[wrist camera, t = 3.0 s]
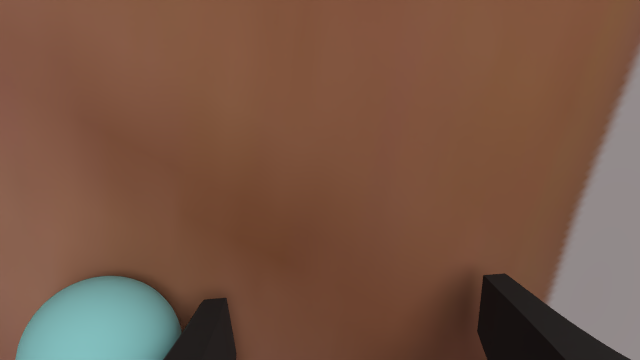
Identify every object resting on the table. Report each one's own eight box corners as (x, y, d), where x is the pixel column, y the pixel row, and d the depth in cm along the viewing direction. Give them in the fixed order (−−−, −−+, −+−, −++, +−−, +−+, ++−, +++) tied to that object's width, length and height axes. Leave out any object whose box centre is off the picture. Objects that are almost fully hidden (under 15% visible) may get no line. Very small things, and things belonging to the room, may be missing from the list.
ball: (204, 346, 15) (179, 466, 12) (78, 358, 15) (14, 482, 12) (181, 241, 14) (143, 345, 10) (39, 253, 14) (-51, 362, 10)
